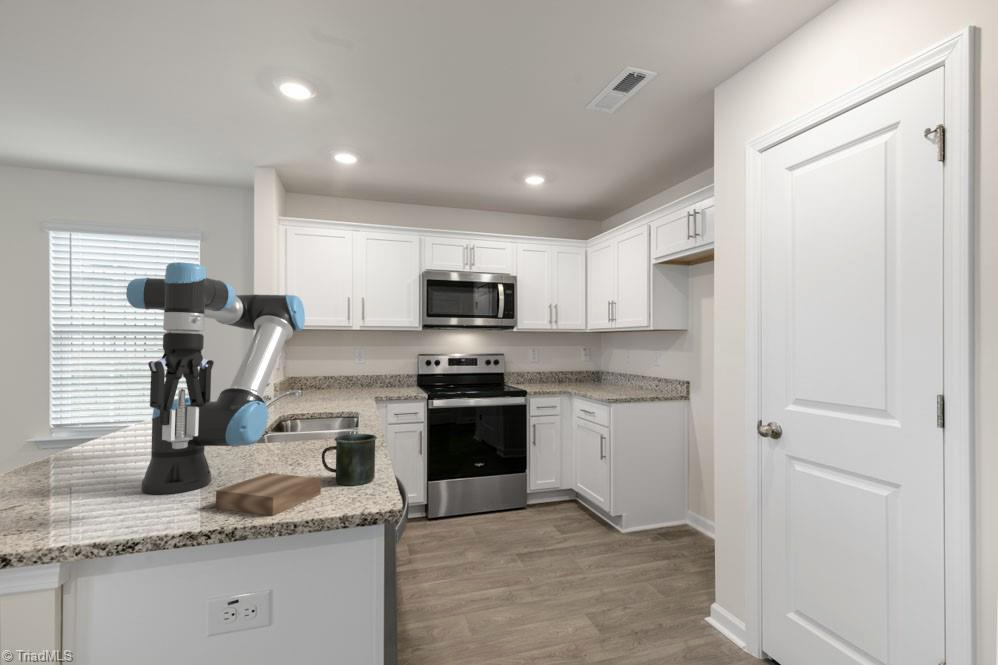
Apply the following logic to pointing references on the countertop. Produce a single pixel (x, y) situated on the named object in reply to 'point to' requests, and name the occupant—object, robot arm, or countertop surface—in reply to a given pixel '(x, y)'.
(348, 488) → the countertop surface
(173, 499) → the countertop surface
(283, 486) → the wooden block
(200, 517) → the countertop surface
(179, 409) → the screw
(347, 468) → the mug
